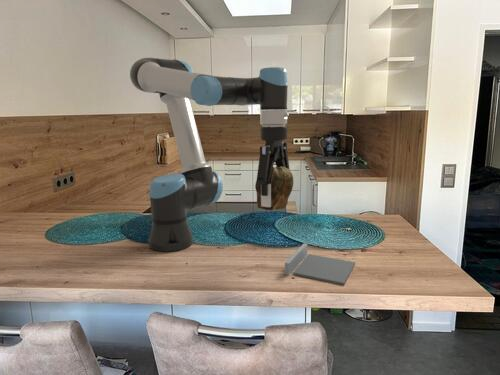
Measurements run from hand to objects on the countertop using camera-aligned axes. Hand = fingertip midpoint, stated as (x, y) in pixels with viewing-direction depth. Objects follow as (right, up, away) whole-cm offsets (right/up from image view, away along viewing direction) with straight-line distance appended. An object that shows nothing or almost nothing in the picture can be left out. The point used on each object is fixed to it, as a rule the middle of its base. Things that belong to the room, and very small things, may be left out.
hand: (274, 201), depth 105 cm
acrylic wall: (+7, -18, +1) cm, 20 cm away
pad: (+14, -19, -3) cm, 24 cm away
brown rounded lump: (0, -2, 0) cm, 2 cm away
